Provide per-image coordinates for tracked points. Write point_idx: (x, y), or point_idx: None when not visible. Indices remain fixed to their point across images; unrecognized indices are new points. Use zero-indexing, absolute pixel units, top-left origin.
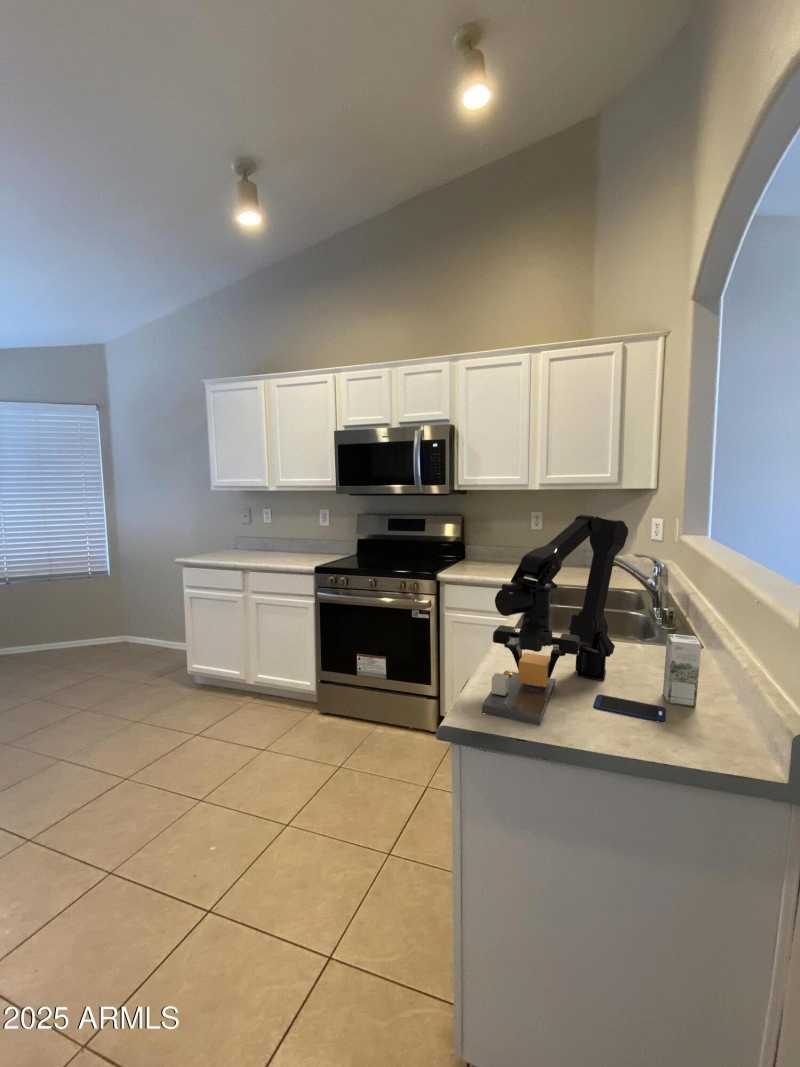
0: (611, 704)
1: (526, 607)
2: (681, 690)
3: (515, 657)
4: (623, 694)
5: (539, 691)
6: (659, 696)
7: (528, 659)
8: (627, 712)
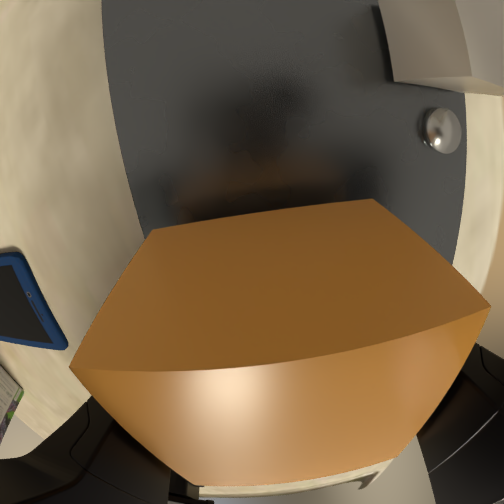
0: (8, 298)
1: None
2: None
3: (494, 363)
4: (46, 371)
5: (201, 196)
6: (17, 379)
7: (370, 416)
8: None
